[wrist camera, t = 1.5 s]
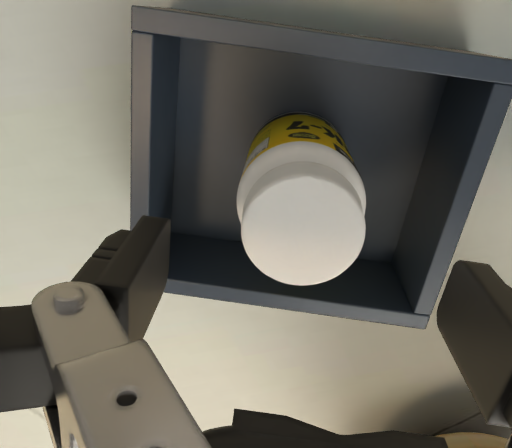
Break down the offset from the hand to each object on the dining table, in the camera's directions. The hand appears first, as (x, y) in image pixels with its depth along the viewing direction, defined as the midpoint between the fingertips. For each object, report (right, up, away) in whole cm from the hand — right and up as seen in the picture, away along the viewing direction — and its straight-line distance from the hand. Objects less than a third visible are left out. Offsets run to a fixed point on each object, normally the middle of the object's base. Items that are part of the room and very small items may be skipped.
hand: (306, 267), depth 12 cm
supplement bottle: (+1, +4, +9) cm, 10 cm away
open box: (+1, +5, +10) cm, 11 cm away
